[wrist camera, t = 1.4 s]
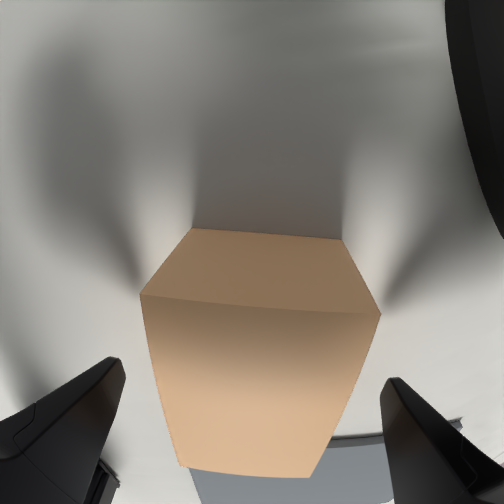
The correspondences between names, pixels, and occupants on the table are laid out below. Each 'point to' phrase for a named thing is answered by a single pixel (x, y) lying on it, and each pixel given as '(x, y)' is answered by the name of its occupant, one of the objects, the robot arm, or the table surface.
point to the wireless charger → (481, 89)
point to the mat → (311, 479)
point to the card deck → (256, 348)
